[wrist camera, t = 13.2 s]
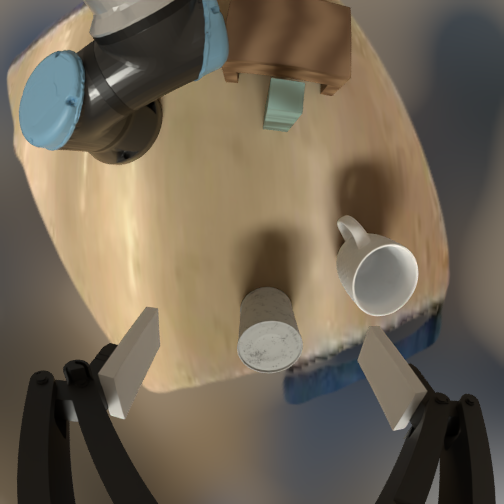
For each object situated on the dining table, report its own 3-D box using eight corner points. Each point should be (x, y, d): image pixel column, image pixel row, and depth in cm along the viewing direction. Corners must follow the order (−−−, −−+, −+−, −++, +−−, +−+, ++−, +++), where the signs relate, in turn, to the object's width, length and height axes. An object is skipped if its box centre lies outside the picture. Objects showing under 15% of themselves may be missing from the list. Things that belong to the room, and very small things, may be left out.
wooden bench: (225, 82, 40) (219, 59, 30) (236, 19, 36) (232, -11, 26) (331, 96, 40) (350, 77, 31) (334, 33, 37) (350, 7, 27)
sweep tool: (287, 131, 42) (302, 112, 29) (262, 128, 42) (267, 108, 29) (297, 18, 36) (310, -25, 22) (275, 15, 36) (282, -29, 22)
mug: (305, 228, 46) (324, 248, 34) (357, 195, 45) (392, 202, 32) (344, 295, 50) (369, 330, 37) (391, 263, 48) (427, 289, 35)
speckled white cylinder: (240, 286, 49) (236, 320, 37) (293, 286, 49) (305, 319, 37) (240, 332, 52) (237, 373, 40) (290, 332, 52) (299, 372, 40)
